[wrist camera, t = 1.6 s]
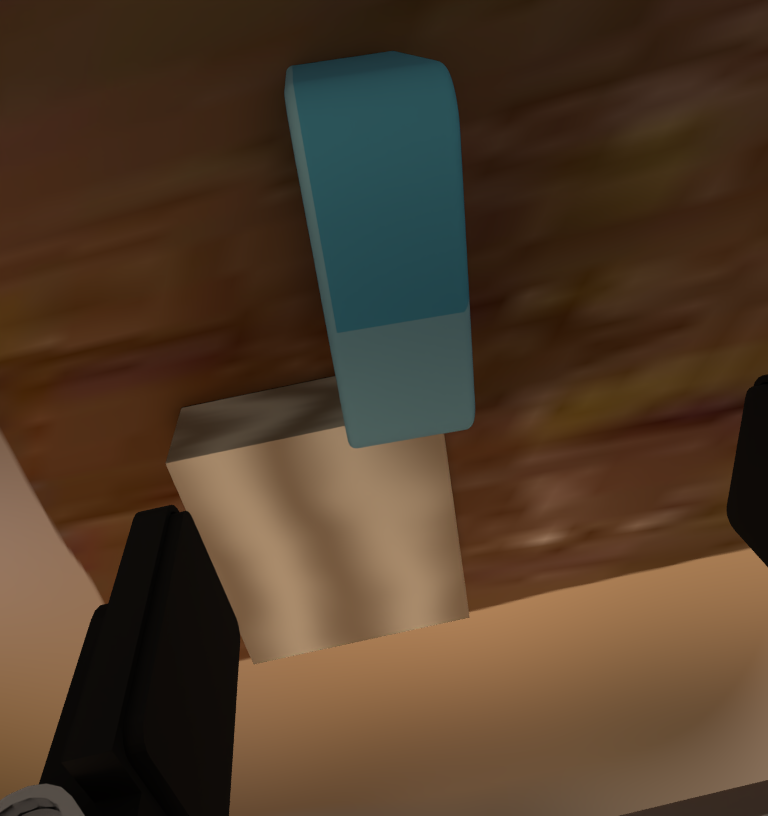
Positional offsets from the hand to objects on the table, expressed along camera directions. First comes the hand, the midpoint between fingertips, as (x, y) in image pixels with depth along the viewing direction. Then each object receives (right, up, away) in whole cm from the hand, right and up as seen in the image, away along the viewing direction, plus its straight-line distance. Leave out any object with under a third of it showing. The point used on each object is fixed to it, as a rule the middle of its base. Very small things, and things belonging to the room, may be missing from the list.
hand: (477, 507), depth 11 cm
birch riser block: (-5, -3, +27) cm, 27 cm away
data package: (-3, +11, +19) cm, 22 cm away
